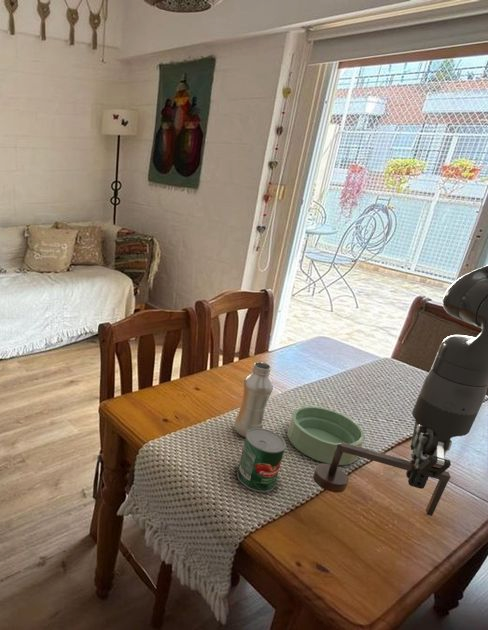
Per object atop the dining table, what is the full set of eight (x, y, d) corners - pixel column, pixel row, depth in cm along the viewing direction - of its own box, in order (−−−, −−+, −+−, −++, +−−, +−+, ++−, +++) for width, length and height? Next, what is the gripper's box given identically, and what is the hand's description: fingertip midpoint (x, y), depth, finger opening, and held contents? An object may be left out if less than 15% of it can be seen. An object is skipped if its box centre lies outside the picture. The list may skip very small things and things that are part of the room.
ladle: (312, 485, 84) (324, 447, 80) (313, 467, 88) (324, 430, 85) (434, 525, 76) (453, 485, 72) (428, 503, 80) (445, 464, 77)
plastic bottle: (239, 422, 117) (254, 356, 109) (265, 434, 112) (282, 366, 104) (228, 432, 112) (242, 364, 105) (254, 445, 108) (271, 375, 100)
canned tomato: (247, 461, 103) (256, 423, 98) (280, 480, 98) (292, 440, 93) (230, 478, 98) (239, 438, 93) (265, 498, 92) (276, 457, 88)
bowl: (355, 437, 112) (362, 417, 110) (359, 475, 100) (367, 454, 97) (288, 418, 119) (293, 399, 117) (285, 452, 106) (290, 432, 104)
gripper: (493, 429, 63) (450, 518, 70) (467, 385, 75) (432, 465, 81) (429, 414, 67) (394, 500, 73) (413, 374, 78) (384, 452, 85)
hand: (414, 481), depth 77 cm, fingers closed on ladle, 1 cm apart
